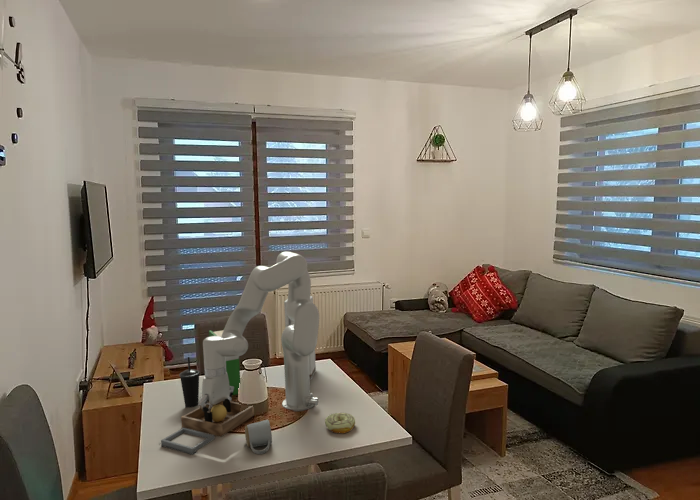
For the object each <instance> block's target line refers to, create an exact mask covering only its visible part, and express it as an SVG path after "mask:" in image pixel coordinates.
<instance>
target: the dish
mask: <svg viewBox="0 0 700 500" xmlns="http://www.w3.org/2000/svg"><path fill="white" fill-rule="evenodd" d="M182 434H188V435H193V436H197V437H200V438H204V439H203V440H202V441H200V442H198V443H197V444H195V445H194V446H190V445H185V444H182V443H179V442H178V443H177V442H174V441H171V440H173V439H175V438H176V437H178V436H180V435H182ZM213 440H215V435H212V434H208V433H204V432H200V431H196V430H192V429H188V428H184V427H181V428H180V429H178V430H177V431H175V432H174V433H171V434H170V435H168V436H166V437H164V438H163V439H161V440H160V442H161V443H160V446H161V447H163V448H167V449H171V450H174V451H178V452H180V453H181V452H182V453H184V454H189V455H192V456H193V455H195V454H197V453H198V451H197V450H199V449H201V448H202V447H204V446H206V445H208V444H209V443H210V442H212V441H213Z"/></svg>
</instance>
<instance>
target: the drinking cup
mask: <svg viewBox="0 0 700 500" xmlns="http://www.w3.org/2000/svg"><path fill="white" fill-rule="evenodd" d="M187 367H188V369H185V370H183V371H181V372H180V373H179V377H180V383H181V388H182V389H181V390H182V394H183V400H184V407H185V409H187V408H195V407H197V406H199V405H198V403H199V393H200V391H199V390H200V389H199V388H200V374H201V372H200V370H198V369H195V368H191V359H190V356H188V357H187Z"/></svg>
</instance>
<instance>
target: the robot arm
mask: <svg viewBox="0 0 700 500" xmlns="http://www.w3.org/2000/svg"><path fill="white" fill-rule="evenodd" d="M252 269H253V270H252V271H251V272H250V275H249V277H248V279H247V282H246V284H245V287H244V289H243V292H242V294H241V297H240V299H239V302H238V304H237V305H236V307H235V308H234V309H233V311H232V312H231V313H230V315H229V317H228V319H227V322H226V323H225V326H224V328H223V330H224V331H223V333H222V337H221V336H210V337H209V336H207V337H205V338H204V339H203V340H202V349H203V350H202V352H203V367H204V376H203V378H202V385H201V399H200V401H198V405H197V406H198V408H199V407H200V409H201V410H202V411H203V412H204V418H205V421H207V422H213V419H212V412H211V409H212V407H213V405H216V404H217V403H219V402H221V401H223V406H224V407H225V408H226V411H227V412H231V402H230V401H233V400H232V398H233V396H234V395H233V390H234V386H229V379H228V374H227V372H226V366H227V365H226V357H227V356H239V357H240V356H243V355H244V354H246V352H247V351H248V349H249V343H248V340H247V339H246V338H245V336H243V333H244V332H245V330H246V327H247V325H248V323H249V321H251V319H252V318H253V317H256V316H257V315H258V314H260V313H261V311H263V310H262V309H263V306H264V305H265V303H266V302H265V301H266V299H267V296H268V294H269V293H270V292H274V291H276V290H279V289H281V288H284V286H285V287H286V285H288V291H287V293H288V294H287V299H288V300H287V299H286V300H287V316H288V317H289V319H290V320H292V321H293V322H294V324H293V325H289V326H287V327H286V328H285V327H284V329H283V331H282V333H281V339H280V340H281V347H282V351H283V352H282V354H283V363H284V365H283V366H284V386H285V390H284V391H285V399H284V400H283V401H282V403H281V407H283V408H284V409H287V410H290V411H292V412H303V411H307V410H310V409H312V408H313V407H314V406H318V404H319V398H318V397H314V395H313V394H314V393H313V392H311V381H310V380H311V379H310V376H309V356H308V355H310V354H311V353H312V352H313V351H314V350H315V351H316V348H317V344H318V337H319V336H318V334H319V326H320V313H319V308H318V307H317V306H316V304H315V303H314V302H313V303H312V302H310V296H311V295H312V294H311V290H312V289H311V288H312V287H311V286H312V282H311V276H310V272H309V270H308V262H307V259H306V258H305V256H303V255H301V254H299V253H296V252H292V251H282V252H281V253H279V254H278V255H277V257H276V264H274V265H272V266H266V265H257V266H256V267H254V268H252ZM209 402H210V403H209ZM204 404H205V405H204ZM208 405H210V406H209V408H207V407H208Z"/></svg>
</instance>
